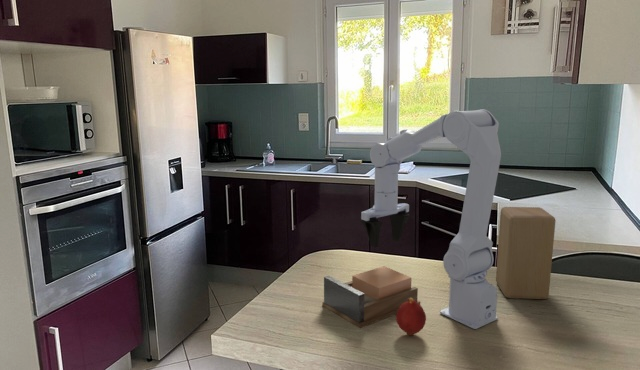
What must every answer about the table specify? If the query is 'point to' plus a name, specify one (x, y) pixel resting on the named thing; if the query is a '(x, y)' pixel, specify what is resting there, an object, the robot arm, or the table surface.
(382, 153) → the robot arm
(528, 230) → the wooden block
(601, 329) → the table surface
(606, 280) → the table surface
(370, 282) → the tile
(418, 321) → the red pomegranate
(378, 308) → the track
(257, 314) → the table surface
